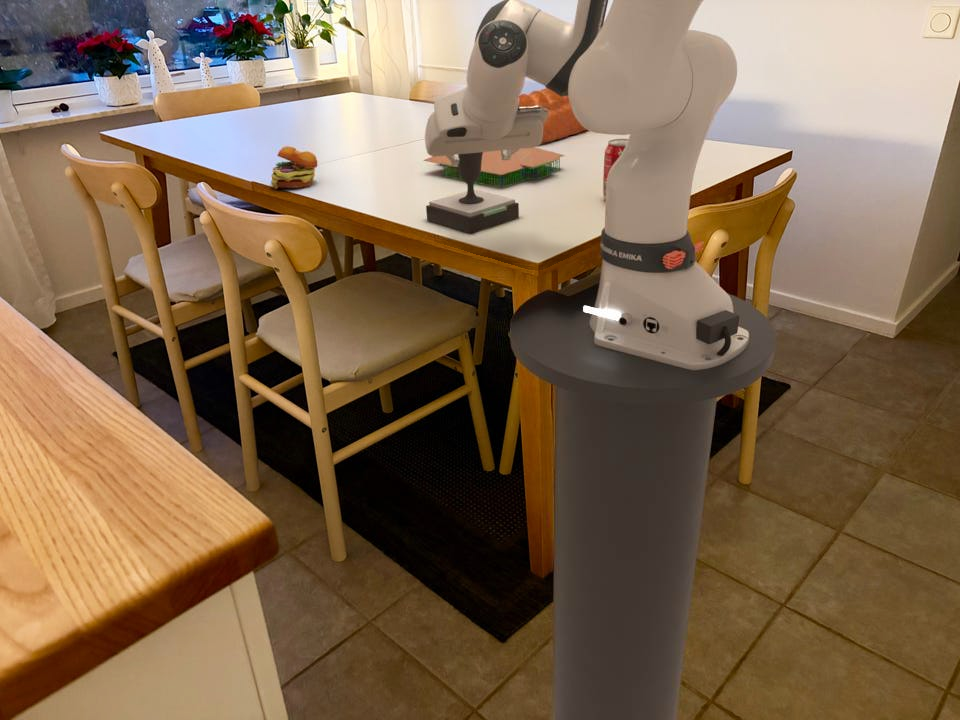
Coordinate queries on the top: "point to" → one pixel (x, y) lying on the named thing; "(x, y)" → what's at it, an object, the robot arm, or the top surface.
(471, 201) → the sundae
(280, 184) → the cheeseburger
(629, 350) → the robot arm
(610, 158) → the soda can
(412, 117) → the top surface
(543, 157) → the house
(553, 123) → the bread
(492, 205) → the scale
